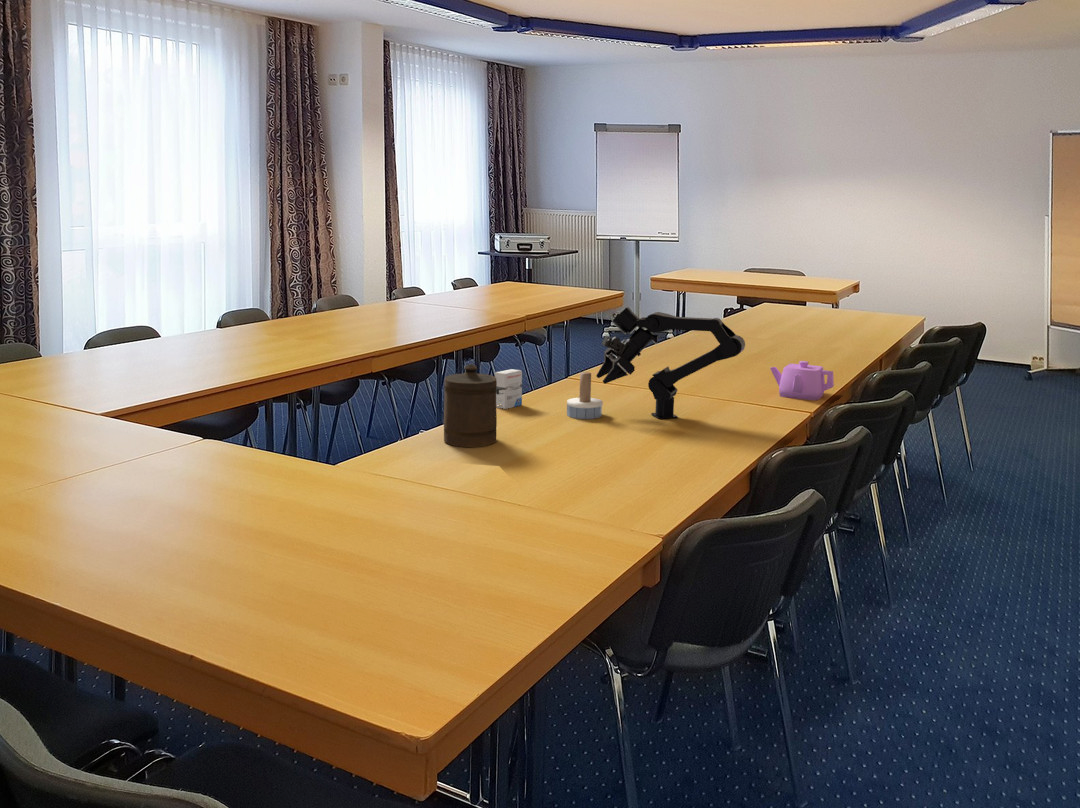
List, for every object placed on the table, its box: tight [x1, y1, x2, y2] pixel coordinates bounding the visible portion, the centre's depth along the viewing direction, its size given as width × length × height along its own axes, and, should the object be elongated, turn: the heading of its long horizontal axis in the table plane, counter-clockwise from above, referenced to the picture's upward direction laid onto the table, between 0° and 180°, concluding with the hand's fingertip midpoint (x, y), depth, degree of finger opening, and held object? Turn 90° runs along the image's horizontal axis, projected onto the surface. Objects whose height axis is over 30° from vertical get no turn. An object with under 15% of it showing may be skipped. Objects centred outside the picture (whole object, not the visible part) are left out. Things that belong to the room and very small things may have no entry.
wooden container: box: [443, 363, 498, 448], centre depth 268 cm, size 15×15×22 cm
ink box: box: [494, 368, 523, 410], centre depth 312 cm, size 8×5×12 cm, turn 141°
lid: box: [566, 371, 604, 408], centre depth 301 cm, size 11×11×10 cm
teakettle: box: [769, 360, 835, 401], centre depth 335 cm, size 17×17×12 cm
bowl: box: [566, 404, 603, 420], centre depth 302 cm, size 11×11×4 cm
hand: (600, 379), depth 300 cm, fingers open, 9 cm apart
